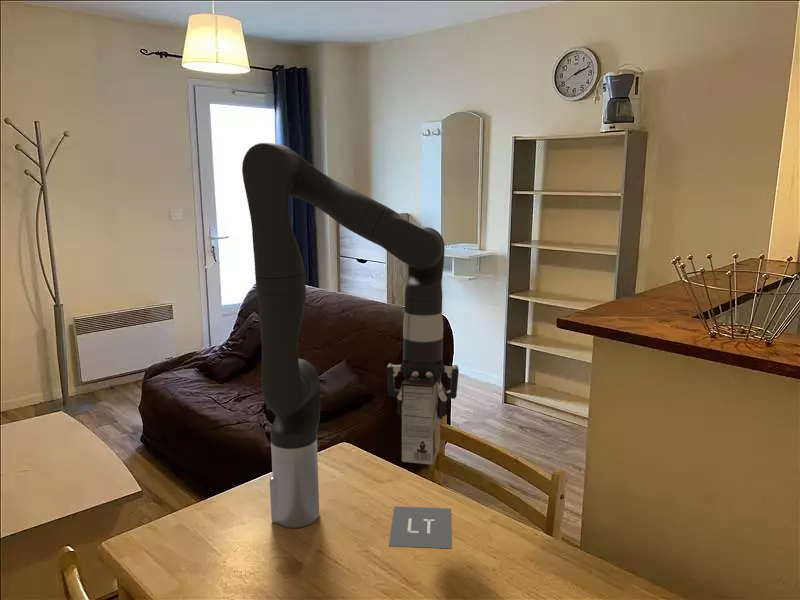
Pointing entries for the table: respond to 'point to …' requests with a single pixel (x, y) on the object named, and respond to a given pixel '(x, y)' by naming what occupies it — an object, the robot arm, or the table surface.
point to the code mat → (421, 527)
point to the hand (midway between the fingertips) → (421, 416)
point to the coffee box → (420, 420)
